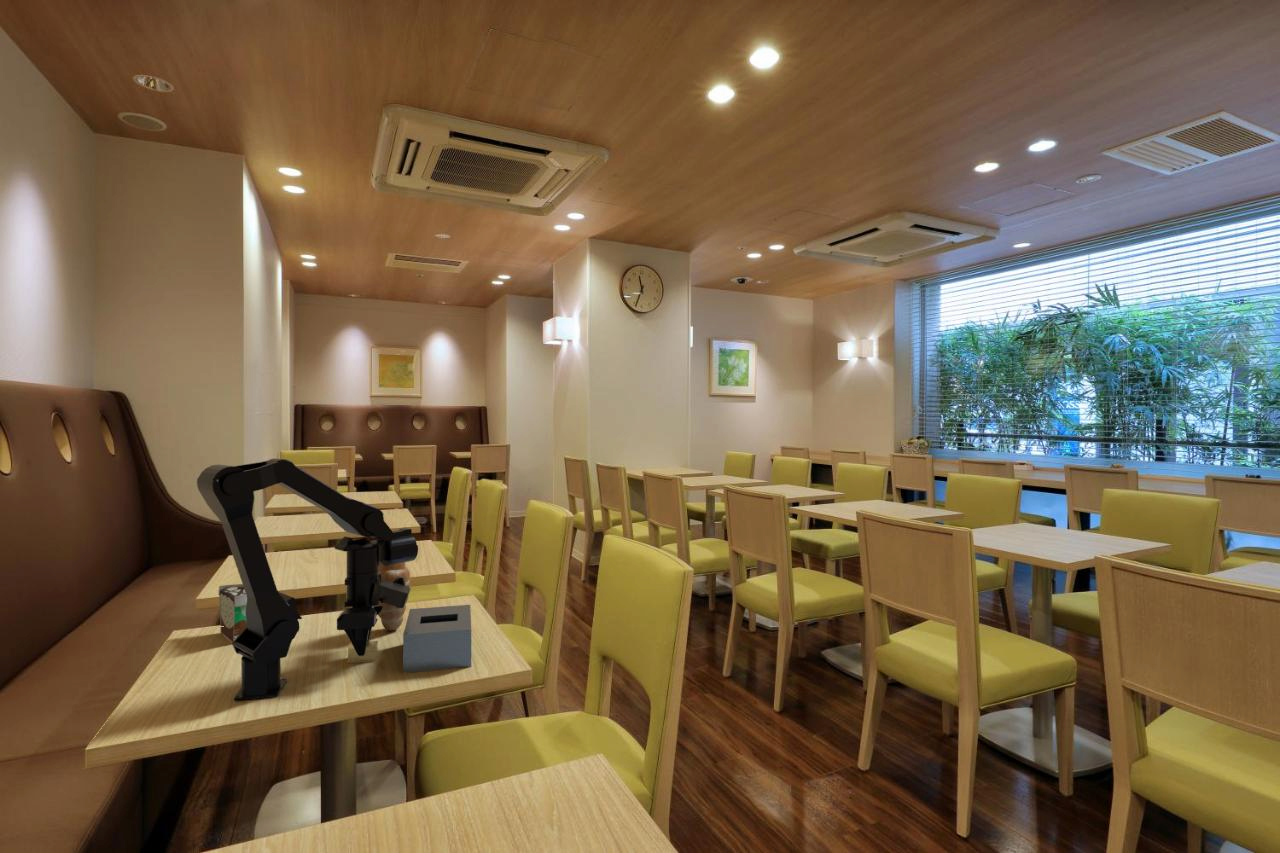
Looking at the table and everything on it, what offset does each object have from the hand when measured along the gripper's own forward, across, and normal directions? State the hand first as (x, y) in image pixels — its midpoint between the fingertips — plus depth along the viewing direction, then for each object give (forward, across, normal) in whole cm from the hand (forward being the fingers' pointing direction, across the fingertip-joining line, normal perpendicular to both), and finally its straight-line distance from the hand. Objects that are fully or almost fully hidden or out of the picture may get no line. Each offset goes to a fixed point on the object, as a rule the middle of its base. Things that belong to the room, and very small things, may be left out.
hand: (363, 651), depth 123 cm
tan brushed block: (+2, 0, 0) cm, 2 cm away
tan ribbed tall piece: (+2, +16, -4) cm, 16 cm away
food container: (+2, +21, +26) cm, 34 cm away
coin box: (+2, -1, -14) cm, 14 cm away
